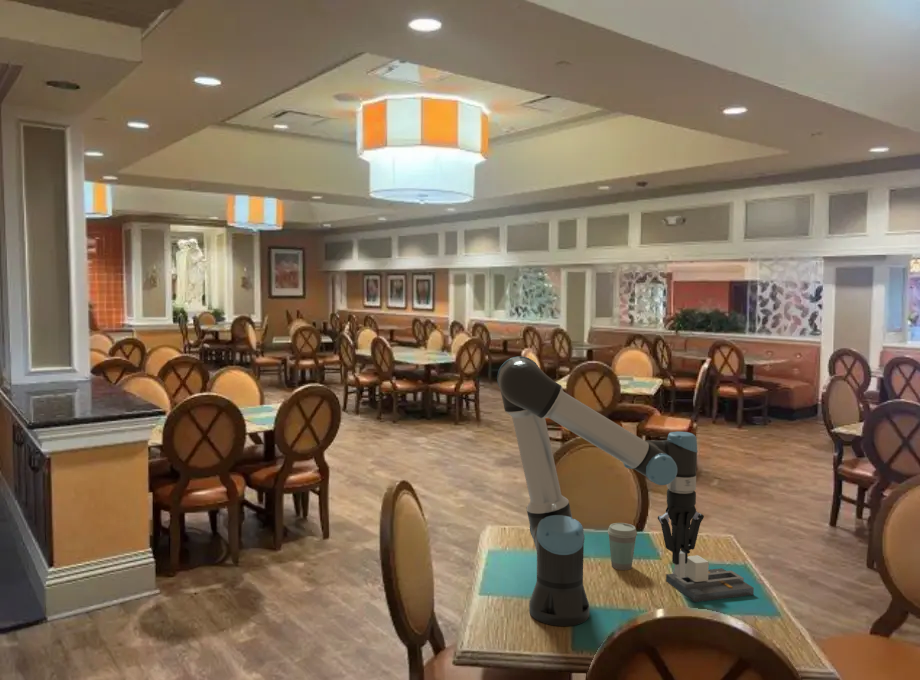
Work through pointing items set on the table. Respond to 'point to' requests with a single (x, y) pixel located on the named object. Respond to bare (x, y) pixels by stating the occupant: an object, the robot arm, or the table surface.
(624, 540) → the coffee cup
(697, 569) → the fader tab
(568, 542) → the robot arm
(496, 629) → the table surface
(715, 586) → the console
